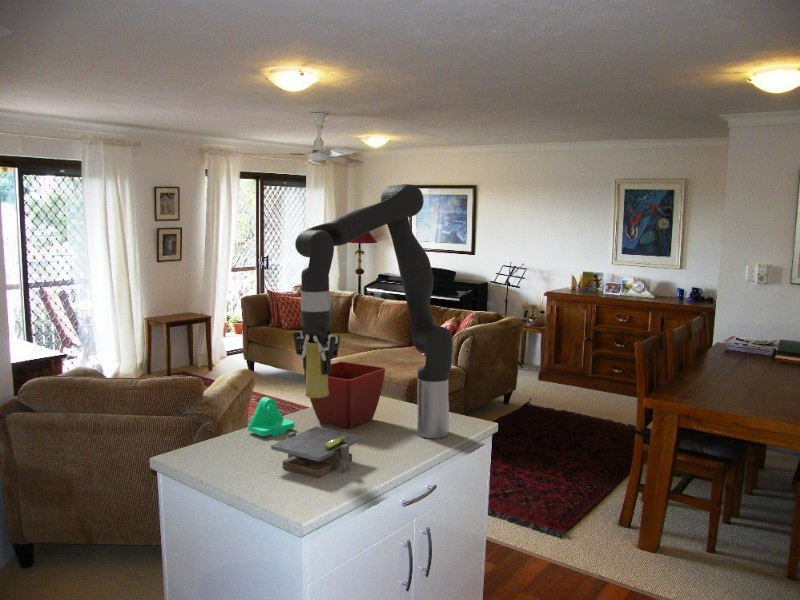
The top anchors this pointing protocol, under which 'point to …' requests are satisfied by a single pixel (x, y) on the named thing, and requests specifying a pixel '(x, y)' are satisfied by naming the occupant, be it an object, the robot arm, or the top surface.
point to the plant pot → (350, 394)
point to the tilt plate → (316, 443)
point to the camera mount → (268, 419)
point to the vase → (315, 373)
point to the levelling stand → (319, 463)
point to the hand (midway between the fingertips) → (316, 372)
